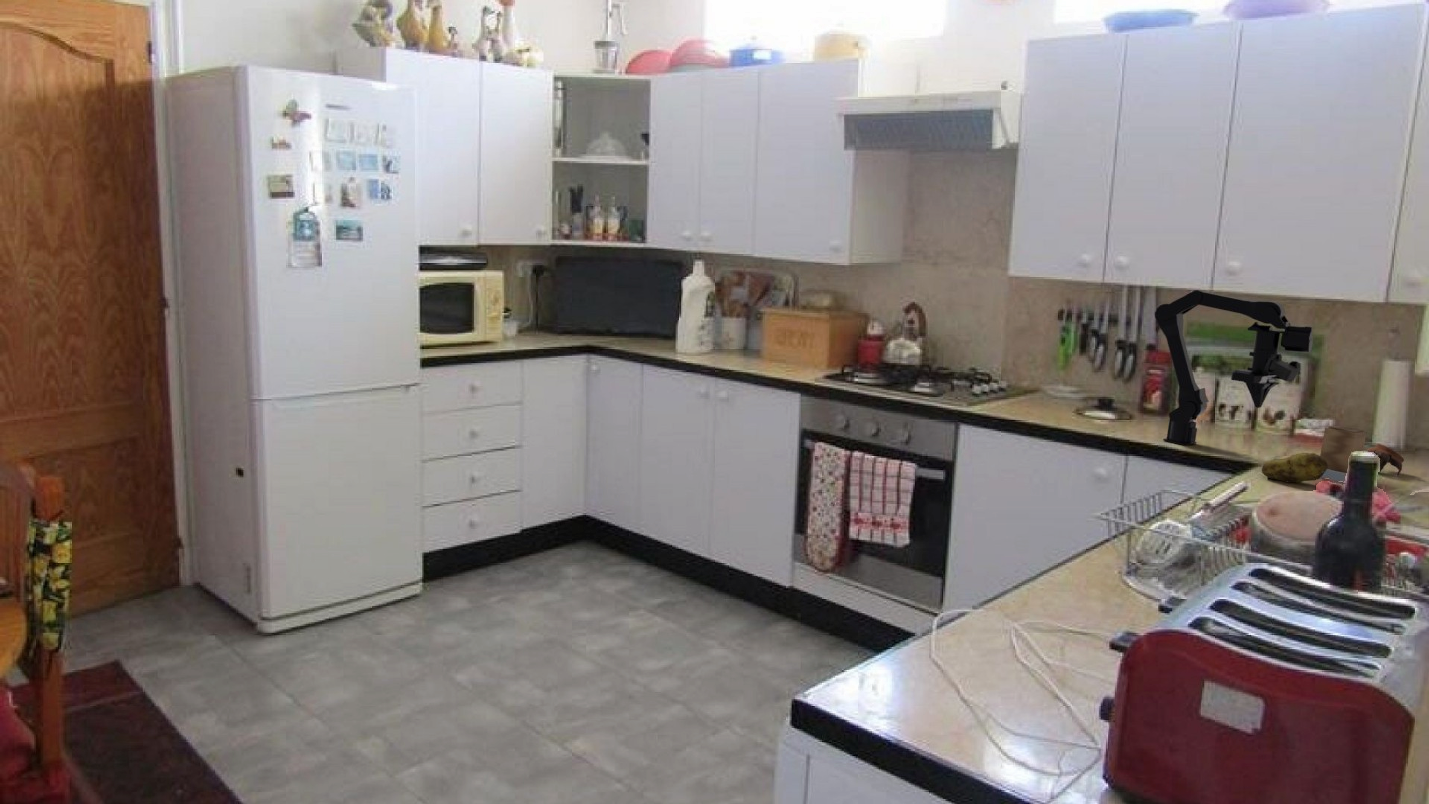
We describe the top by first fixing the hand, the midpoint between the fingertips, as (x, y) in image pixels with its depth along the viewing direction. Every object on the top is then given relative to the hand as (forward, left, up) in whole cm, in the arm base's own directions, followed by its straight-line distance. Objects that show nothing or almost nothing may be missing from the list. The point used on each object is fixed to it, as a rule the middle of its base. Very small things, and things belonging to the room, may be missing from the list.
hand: (1258, 407), depth 273 cm
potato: (+22, -23, -13) cm, 34 cm away
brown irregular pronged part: (+25, +15, -13) cm, 32 cm away
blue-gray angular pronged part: (+20, -5, -13) cm, 24 cm away
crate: (+24, -5, -13) cm, 28 cm away
